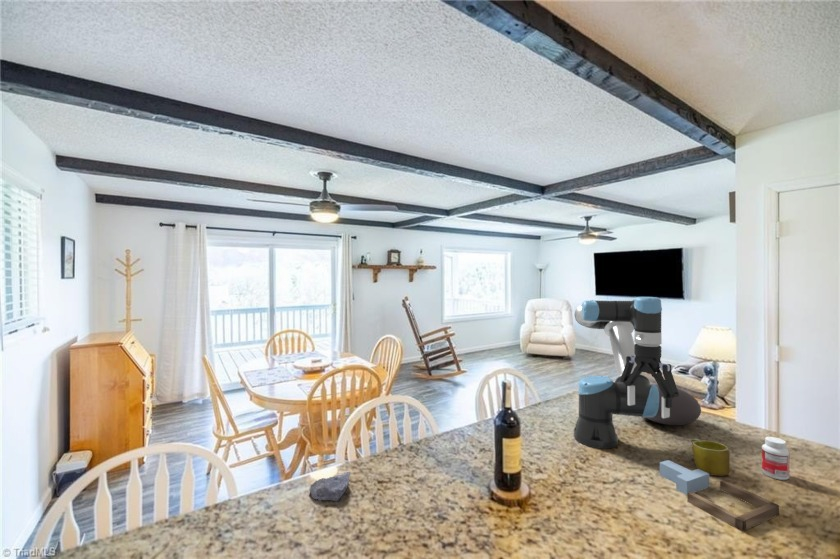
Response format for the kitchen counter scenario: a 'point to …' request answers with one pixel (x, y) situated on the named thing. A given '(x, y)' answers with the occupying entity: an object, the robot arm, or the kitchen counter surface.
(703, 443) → the mug
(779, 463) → the pill bottle
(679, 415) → the smooth stone
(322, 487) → the rock
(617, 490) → the kitchen counter surface
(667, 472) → the blue t-shaped block
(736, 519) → the bay
